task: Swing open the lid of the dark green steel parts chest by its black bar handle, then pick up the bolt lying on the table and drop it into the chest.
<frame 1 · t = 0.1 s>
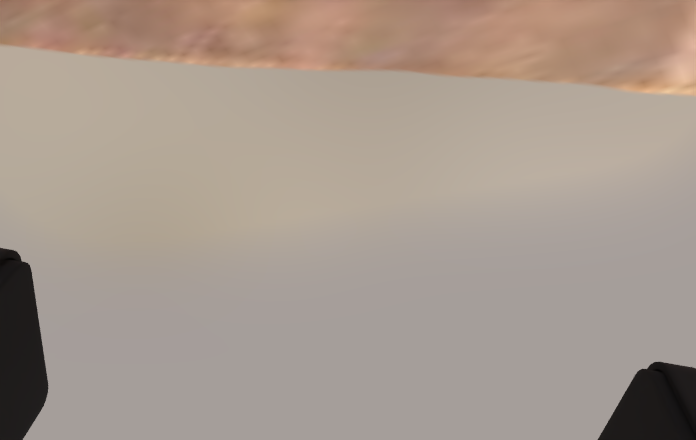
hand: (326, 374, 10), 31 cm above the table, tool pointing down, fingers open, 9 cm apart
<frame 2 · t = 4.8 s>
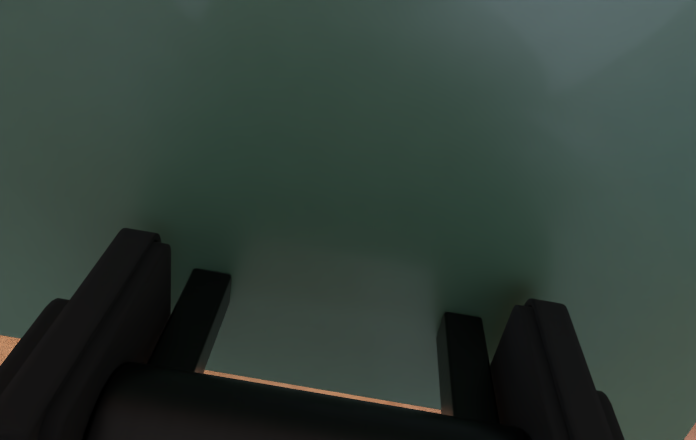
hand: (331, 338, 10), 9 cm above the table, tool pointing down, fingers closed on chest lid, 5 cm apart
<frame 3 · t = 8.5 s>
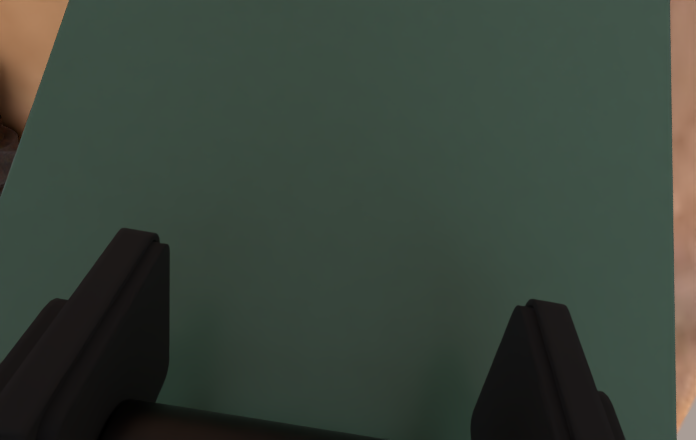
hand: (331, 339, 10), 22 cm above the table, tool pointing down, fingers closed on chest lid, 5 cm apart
bolt: (11, 184, 35), on the table
chest lid: (371, 76, 12), point 17 cm above the table, hinge at 50.1°, touching gripper
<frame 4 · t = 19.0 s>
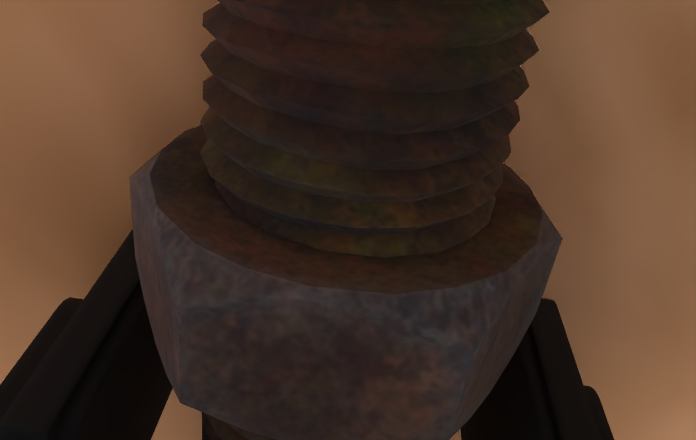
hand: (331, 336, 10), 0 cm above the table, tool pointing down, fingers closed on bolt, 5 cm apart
bolt: (340, 311, 11), on the table, touching gripper
when the fingers open (5 cm above the table, at t = 26.5 s): bolt drops 3 cm, resting on parts chest.
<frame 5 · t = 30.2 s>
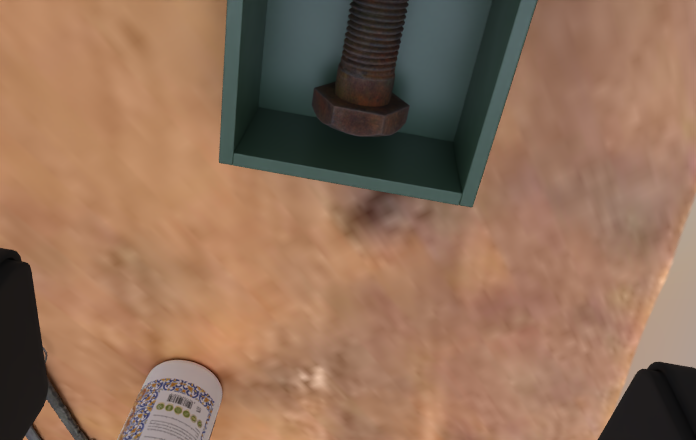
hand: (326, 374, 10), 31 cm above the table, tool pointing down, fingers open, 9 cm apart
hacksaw: (61, 405, 59), on the table
bath foam: (187, 382, 56), on the table
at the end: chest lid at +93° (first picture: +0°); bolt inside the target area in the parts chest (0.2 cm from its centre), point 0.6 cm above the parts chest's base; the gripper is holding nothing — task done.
